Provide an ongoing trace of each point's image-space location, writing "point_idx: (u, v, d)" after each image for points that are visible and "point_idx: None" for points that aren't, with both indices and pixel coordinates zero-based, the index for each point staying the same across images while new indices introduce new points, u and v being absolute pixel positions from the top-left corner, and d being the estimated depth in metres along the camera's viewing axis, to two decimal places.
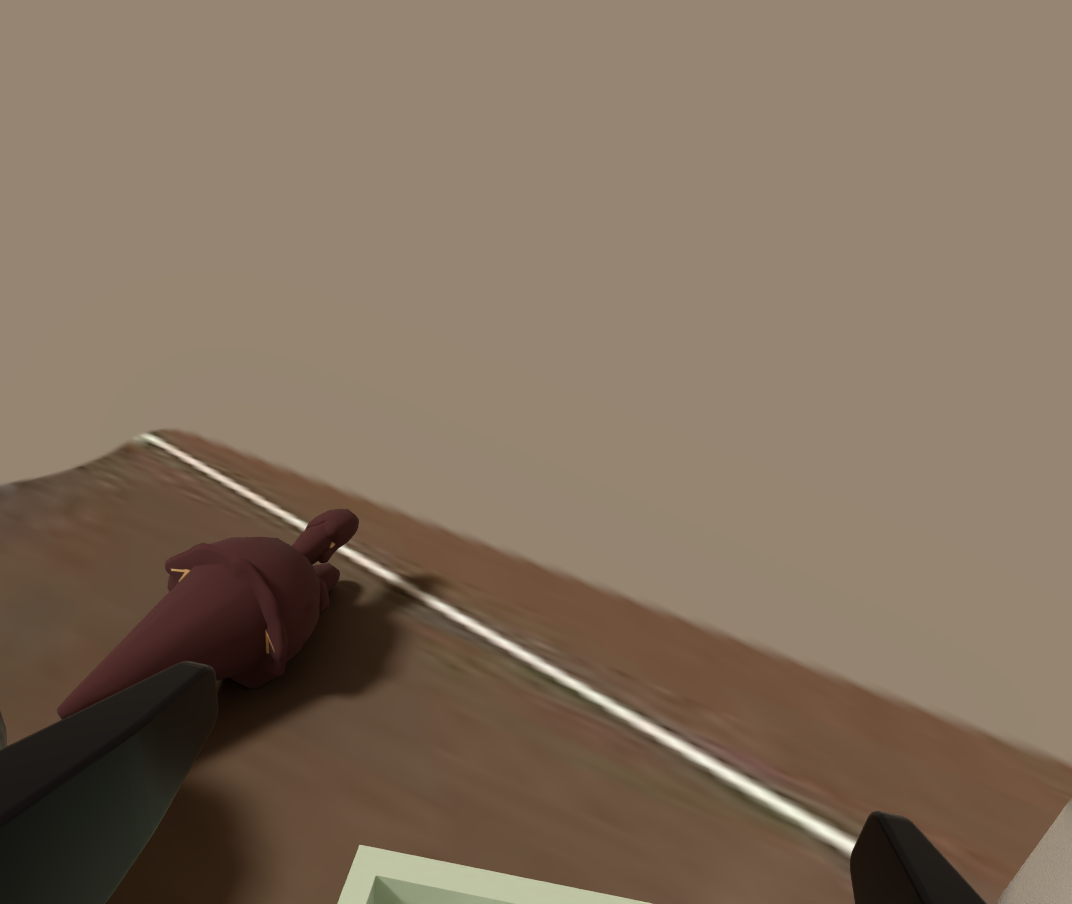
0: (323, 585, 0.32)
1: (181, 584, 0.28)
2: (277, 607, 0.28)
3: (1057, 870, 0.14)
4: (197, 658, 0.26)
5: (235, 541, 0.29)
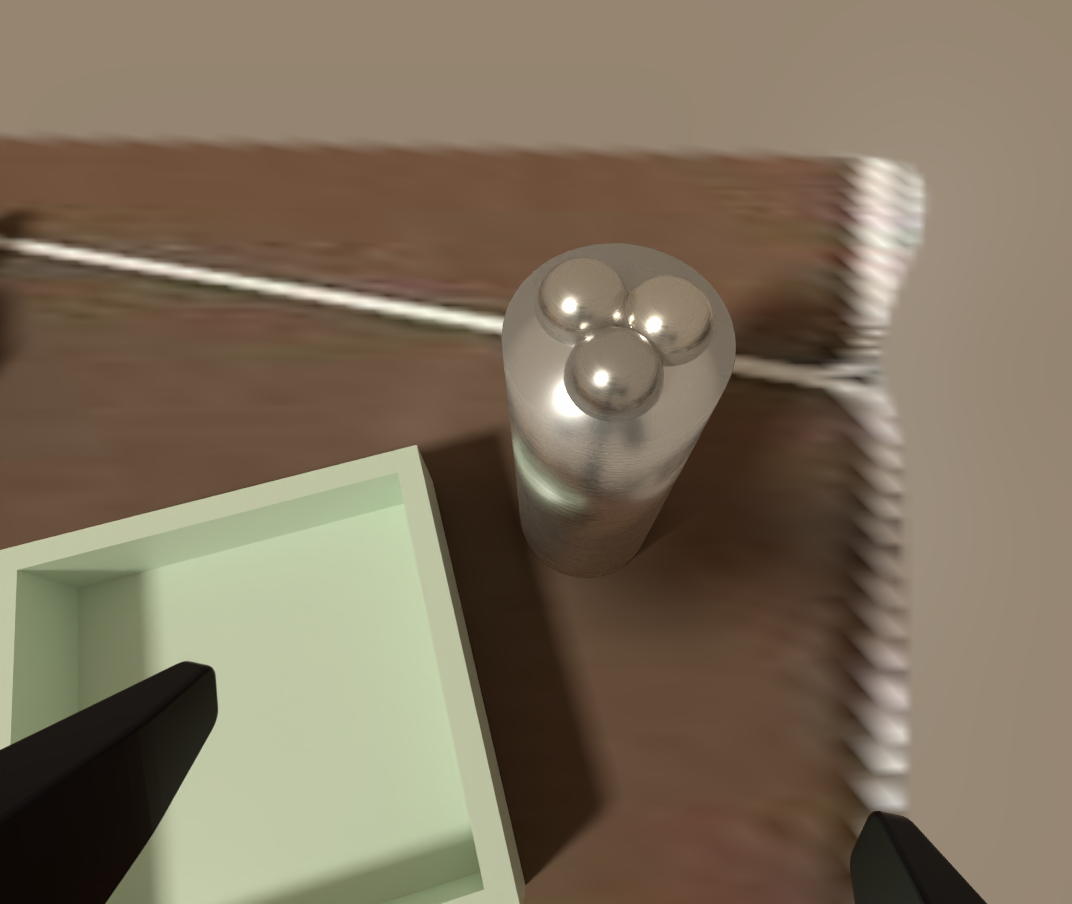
0: None
1: None
2: None
3: None
4: None
5: None
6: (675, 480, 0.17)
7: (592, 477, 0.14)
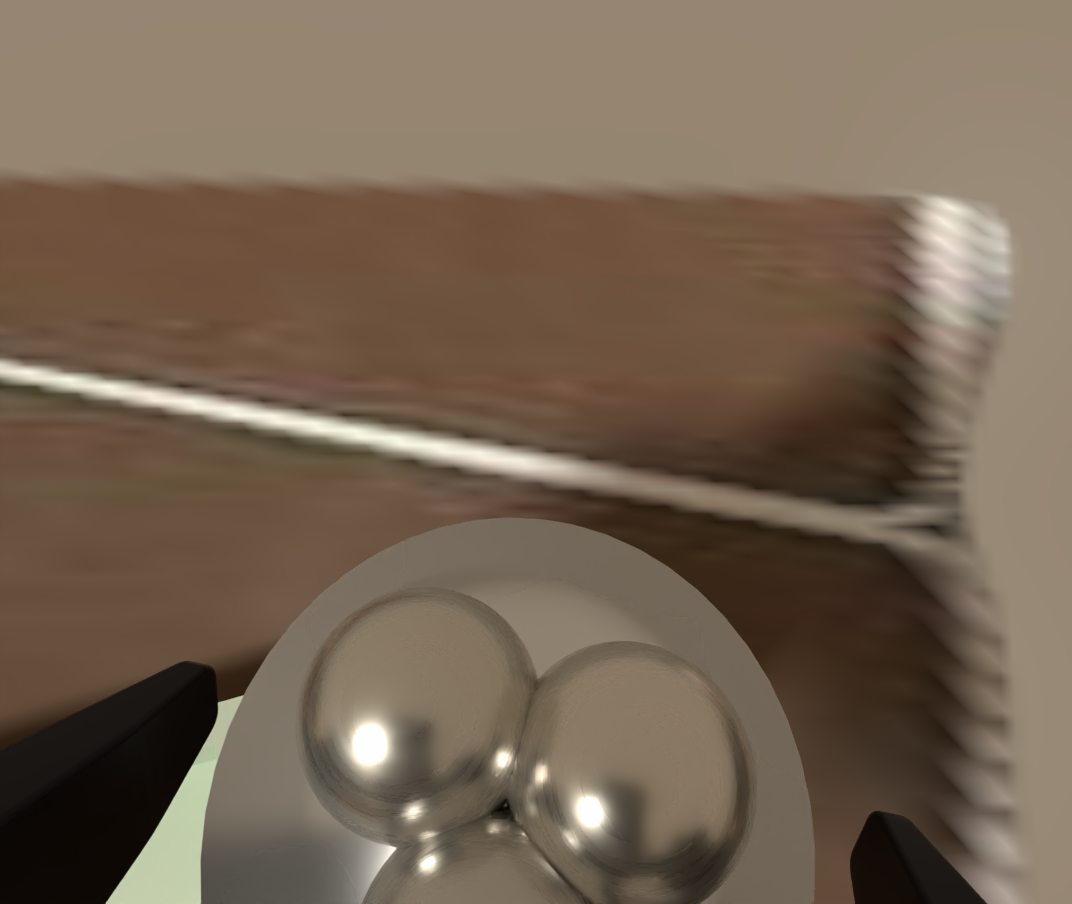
0: None
1: None
2: None
3: None
4: None
5: None
6: None
7: None
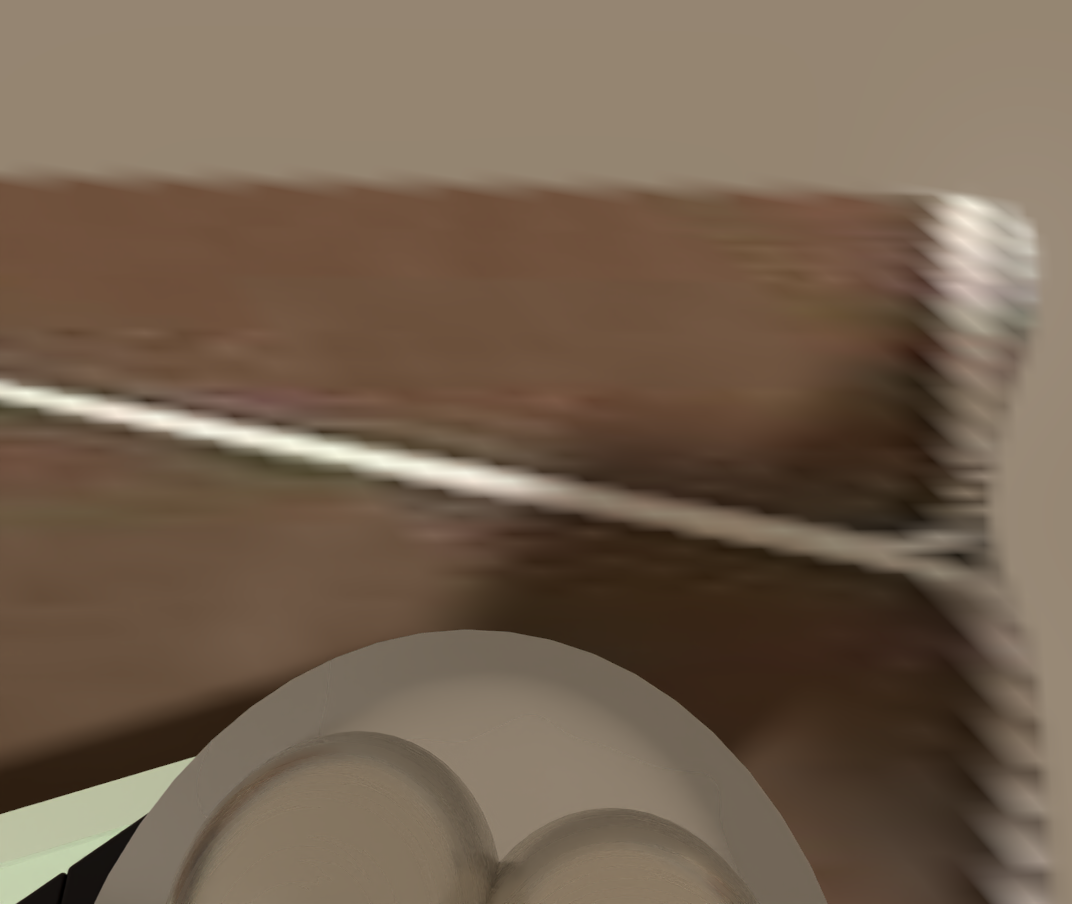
0: None
1: None
2: None
3: None
4: None
5: None
6: None
7: None
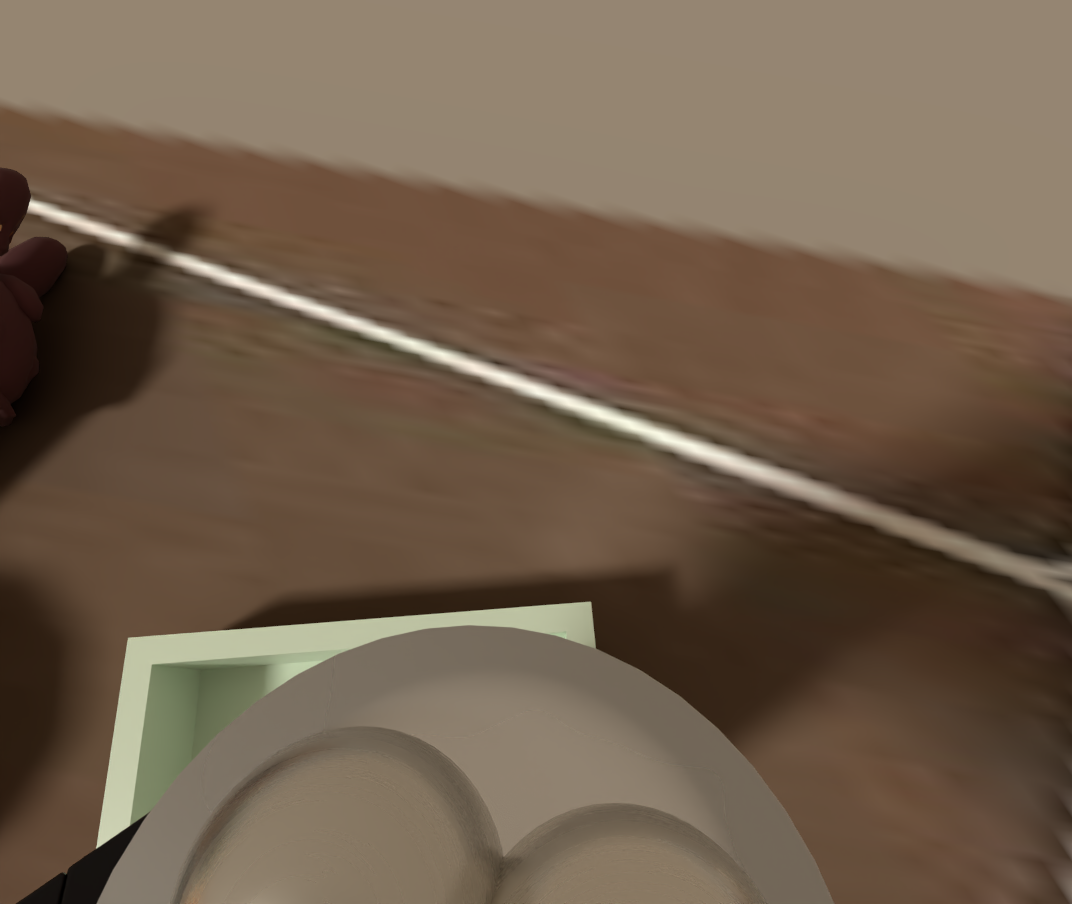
0: (16, 287, 0.24)
1: None
2: None
3: None
4: None
5: None
6: None
7: None
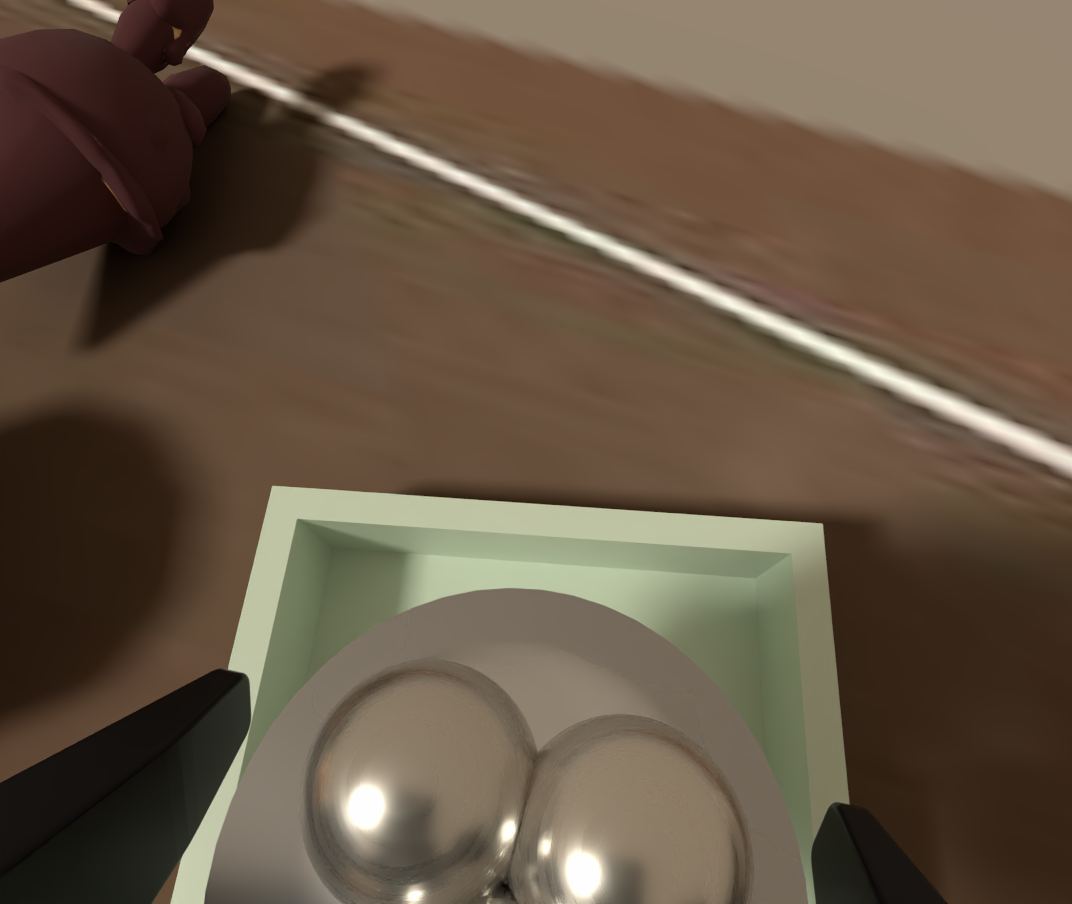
0: (184, 101, 0.22)
1: None
2: (95, 145, 0.19)
3: None
4: (19, 230, 0.19)
5: None
6: None
7: None
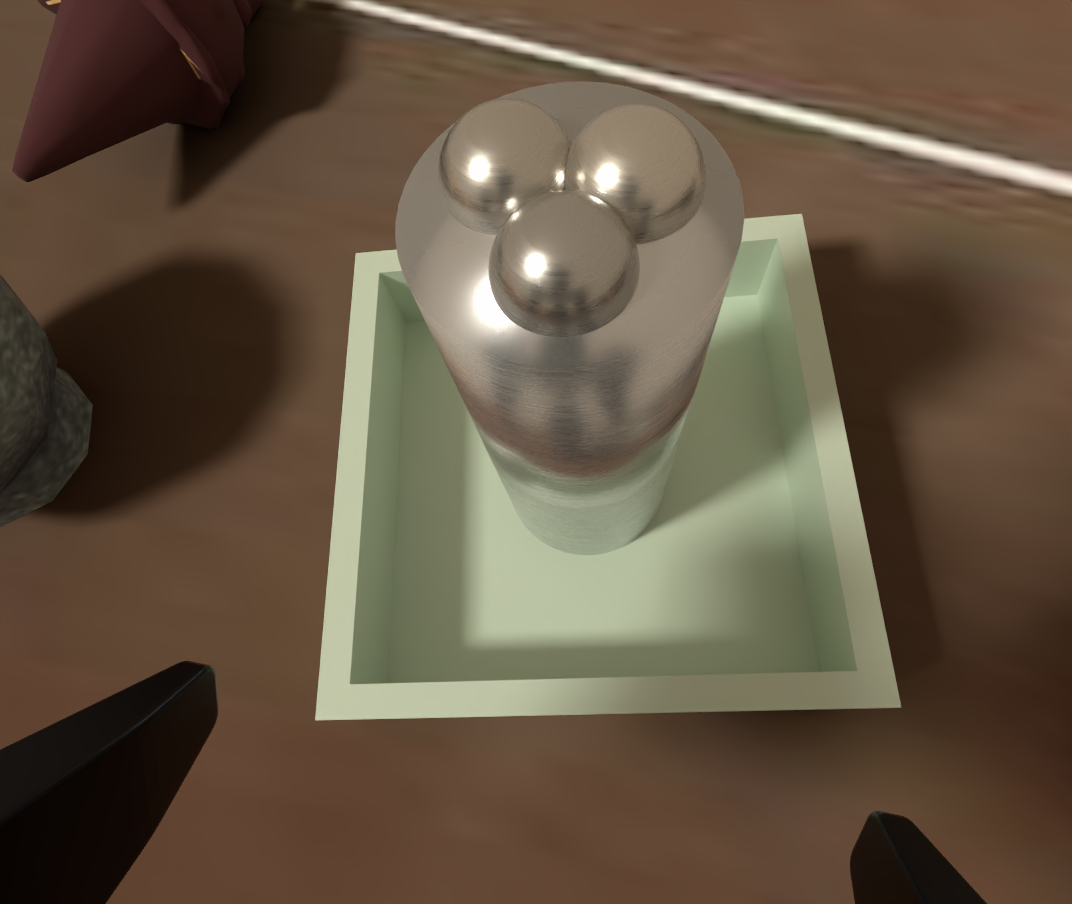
0: None
1: (60, 14, 0.23)
2: (173, 13, 0.23)
3: None
4: (122, 95, 0.24)
5: None
6: (685, 418, 0.13)
7: (561, 425, 0.10)
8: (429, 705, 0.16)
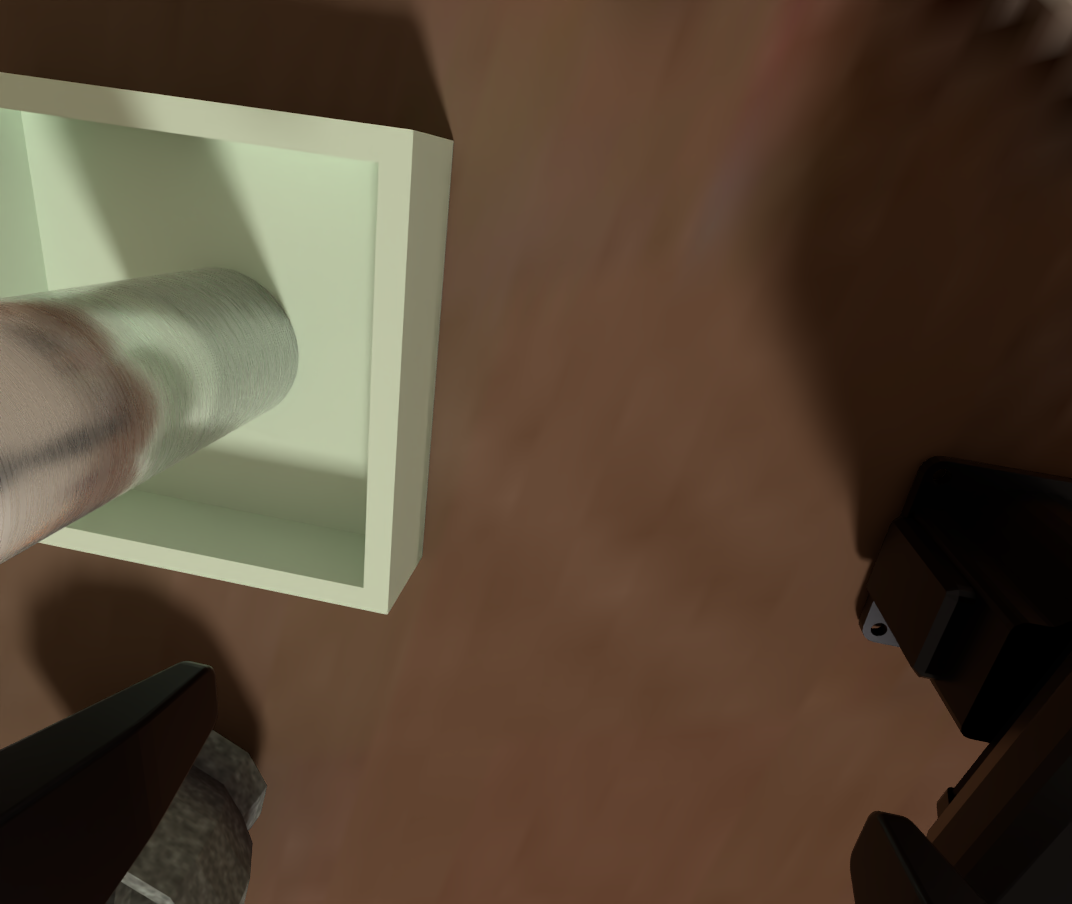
0: None
1: None
2: None
3: None
4: None
5: None
6: (71, 326, 0.13)
7: (27, 494, 0.11)
8: (382, 534, 0.19)
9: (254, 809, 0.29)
